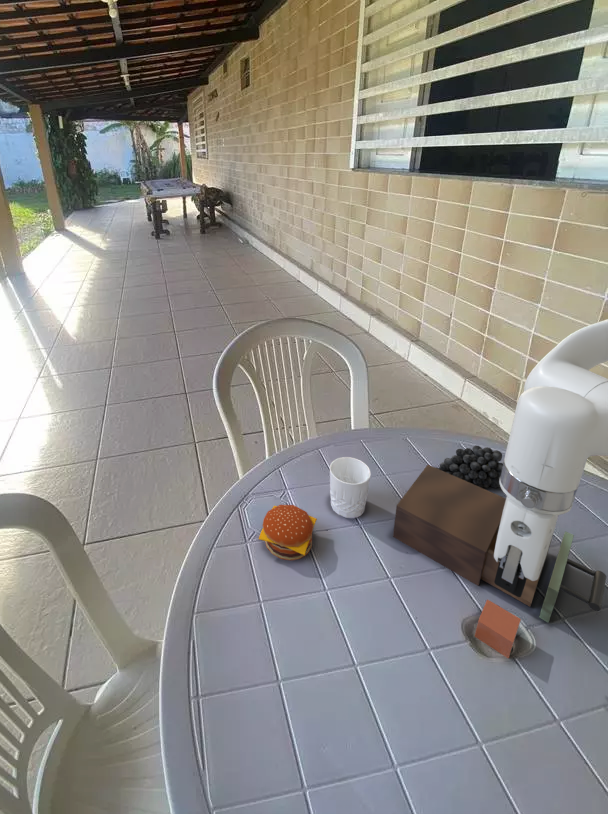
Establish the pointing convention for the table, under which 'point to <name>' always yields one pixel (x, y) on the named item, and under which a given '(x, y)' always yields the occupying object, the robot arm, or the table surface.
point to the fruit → (475, 466)
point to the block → (497, 628)
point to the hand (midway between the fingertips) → (508, 585)
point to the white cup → (349, 486)
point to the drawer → (555, 580)
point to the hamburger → (288, 532)
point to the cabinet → (449, 521)
